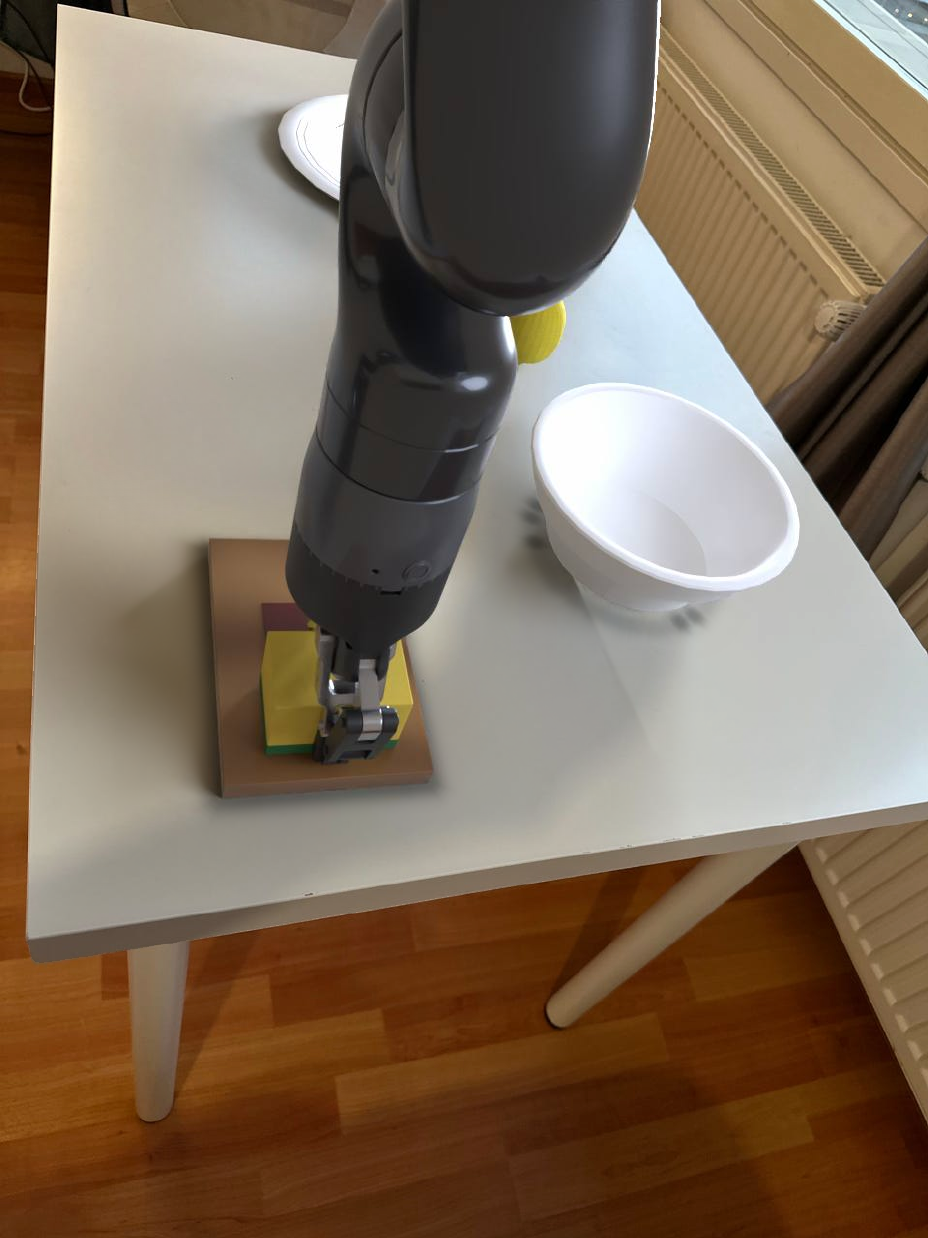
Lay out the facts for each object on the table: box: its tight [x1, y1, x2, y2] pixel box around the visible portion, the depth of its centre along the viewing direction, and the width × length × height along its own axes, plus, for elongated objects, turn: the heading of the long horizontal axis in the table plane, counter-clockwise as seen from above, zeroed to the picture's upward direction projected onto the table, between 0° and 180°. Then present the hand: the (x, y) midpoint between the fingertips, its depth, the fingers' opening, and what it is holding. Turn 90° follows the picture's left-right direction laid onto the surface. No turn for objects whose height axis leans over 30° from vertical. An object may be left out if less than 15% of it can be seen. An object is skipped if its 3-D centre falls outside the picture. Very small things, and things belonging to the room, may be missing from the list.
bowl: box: [530, 382, 801, 613], centre depth 67 cm, size 21×21×8 cm
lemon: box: [509, 300, 567, 365], centre depth 79 cm, size 6×6×8 cm
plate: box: [277, 93, 349, 203], centre depth 97 cm, size 29×29×2 cm
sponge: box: [259, 631, 413, 755], centre depth 50 cm, size 8×5×5 cm, turn 102°
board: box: [207, 537, 435, 799], centre depth 55 cm, size 18×12×2 cm, turn 12°
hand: (325, 713), depth 52 cm, fingers closed on sponge, 5 cm apart
